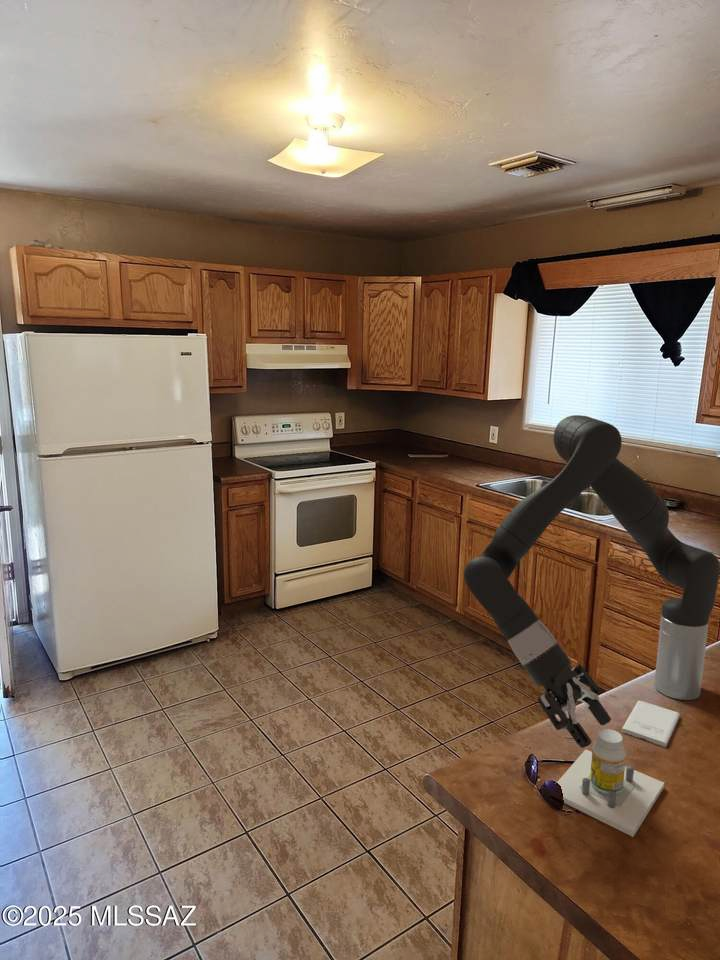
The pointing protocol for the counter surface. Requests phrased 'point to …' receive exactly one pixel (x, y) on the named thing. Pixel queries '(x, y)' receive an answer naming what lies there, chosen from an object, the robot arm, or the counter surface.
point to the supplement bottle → (608, 762)
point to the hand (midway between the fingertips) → (597, 733)
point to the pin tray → (610, 795)
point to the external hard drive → (651, 723)
